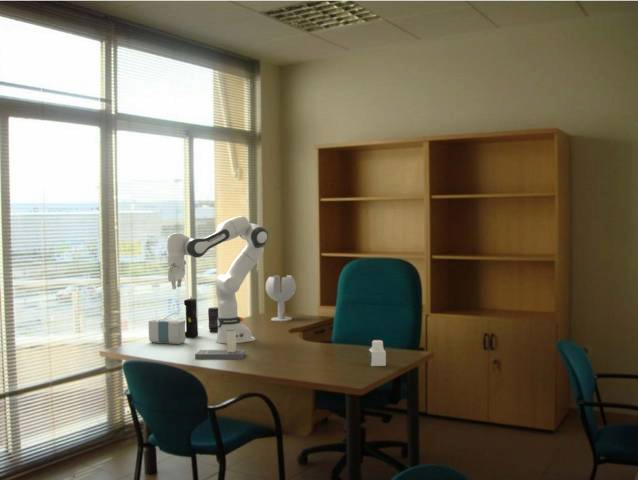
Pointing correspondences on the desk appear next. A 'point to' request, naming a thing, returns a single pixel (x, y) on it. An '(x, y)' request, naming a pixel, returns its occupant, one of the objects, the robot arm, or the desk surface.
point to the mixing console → (219, 354)
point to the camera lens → (213, 319)
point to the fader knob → (231, 339)
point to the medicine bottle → (377, 353)
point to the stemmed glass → (281, 293)
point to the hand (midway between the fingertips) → (176, 288)
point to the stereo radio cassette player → (167, 331)
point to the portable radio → (191, 318)
